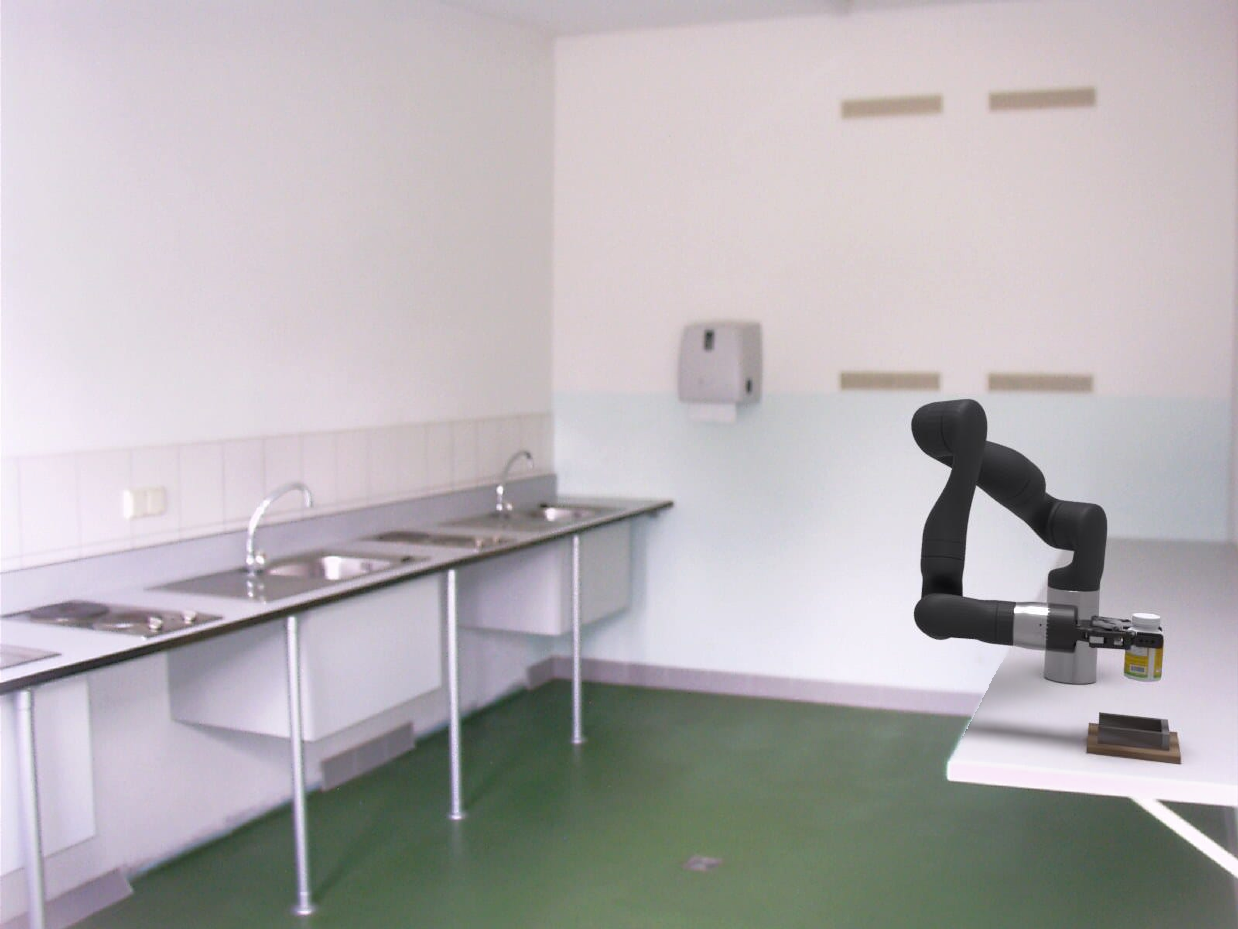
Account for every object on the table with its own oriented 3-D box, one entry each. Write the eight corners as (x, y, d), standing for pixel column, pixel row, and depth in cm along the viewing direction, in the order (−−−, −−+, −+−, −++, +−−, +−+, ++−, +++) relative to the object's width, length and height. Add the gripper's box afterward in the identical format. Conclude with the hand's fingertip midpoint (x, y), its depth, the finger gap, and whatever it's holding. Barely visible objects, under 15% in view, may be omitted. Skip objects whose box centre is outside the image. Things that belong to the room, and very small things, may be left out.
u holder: (1088, 728, 203) (1089, 707, 203) (1176, 738, 198) (1177, 716, 198) (1086, 753, 190) (1087, 730, 190) (1180, 764, 186) (1181, 740, 185)
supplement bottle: (1151, 673, 196) (1155, 612, 195) (1167, 683, 191) (1172, 619, 190) (1117, 673, 196) (1121, 611, 195) (1132, 682, 190) (1136, 619, 190)
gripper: (1043, 611, 191) (1165, 622, 185) (1048, 595, 204) (1162, 605, 198) (1041, 659, 192) (1162, 672, 185) (1046, 641, 205) (1159, 652, 199)
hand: (1161, 637), depth 192 cm, fingers closed on supplement bottle, 5 cm apart
